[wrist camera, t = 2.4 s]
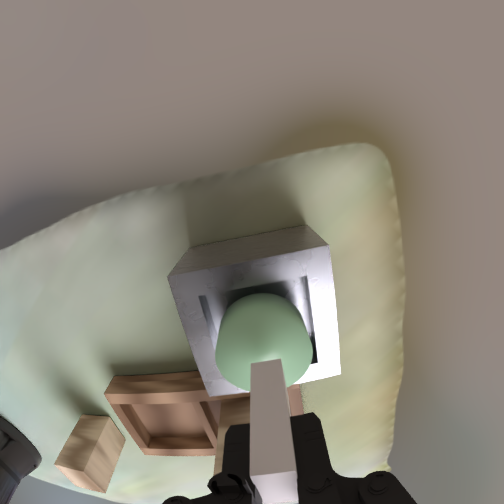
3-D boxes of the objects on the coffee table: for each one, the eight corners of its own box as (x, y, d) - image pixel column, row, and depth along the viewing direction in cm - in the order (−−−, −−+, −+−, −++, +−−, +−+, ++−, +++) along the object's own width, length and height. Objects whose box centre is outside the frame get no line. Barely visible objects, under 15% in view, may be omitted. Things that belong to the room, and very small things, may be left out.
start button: (230, 370, 20) (228, 398, 17) (210, 301, 18) (203, 324, 15) (308, 356, 19) (316, 383, 17) (298, 285, 18) (307, 306, 15)
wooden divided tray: (150, 437, 31) (144, 454, 28) (114, 376, 28) (103, 393, 25) (304, 424, 30) (308, 443, 27) (293, 356, 27) (298, 376, 24)
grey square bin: (217, 347, 27) (209, 396, 20) (189, 248, 24) (167, 276, 18) (321, 328, 26) (340, 373, 20) (307, 224, 24) (328, 245, 17)
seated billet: (233, 426, 29) (229, 499, 19) (221, 397, 27) (213, 475, 18) (277, 420, 28) (285, 494, 19) (270, 390, 27) (277, 470, 17)
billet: (98, 437, 32) (76, 485, 22) (82, 414, 30) (54, 464, 21) (125, 440, 32) (105, 493, 22) (109, 416, 30) (83, 471, 21)
